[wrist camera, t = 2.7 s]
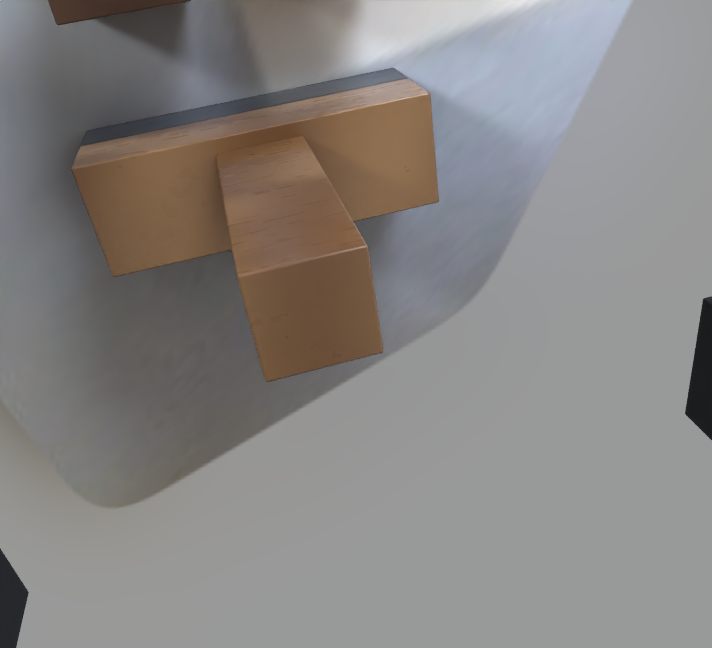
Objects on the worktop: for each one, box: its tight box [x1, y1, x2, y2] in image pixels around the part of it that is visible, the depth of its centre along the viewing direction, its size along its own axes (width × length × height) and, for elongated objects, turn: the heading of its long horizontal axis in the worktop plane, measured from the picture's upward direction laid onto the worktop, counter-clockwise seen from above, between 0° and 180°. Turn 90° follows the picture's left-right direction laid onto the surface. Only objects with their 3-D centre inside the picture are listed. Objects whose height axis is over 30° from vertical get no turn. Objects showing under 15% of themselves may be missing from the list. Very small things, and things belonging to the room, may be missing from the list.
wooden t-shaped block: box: [71, 68, 439, 382], centre depth 21 cm, size 12×4×14 cm, turn 99°
